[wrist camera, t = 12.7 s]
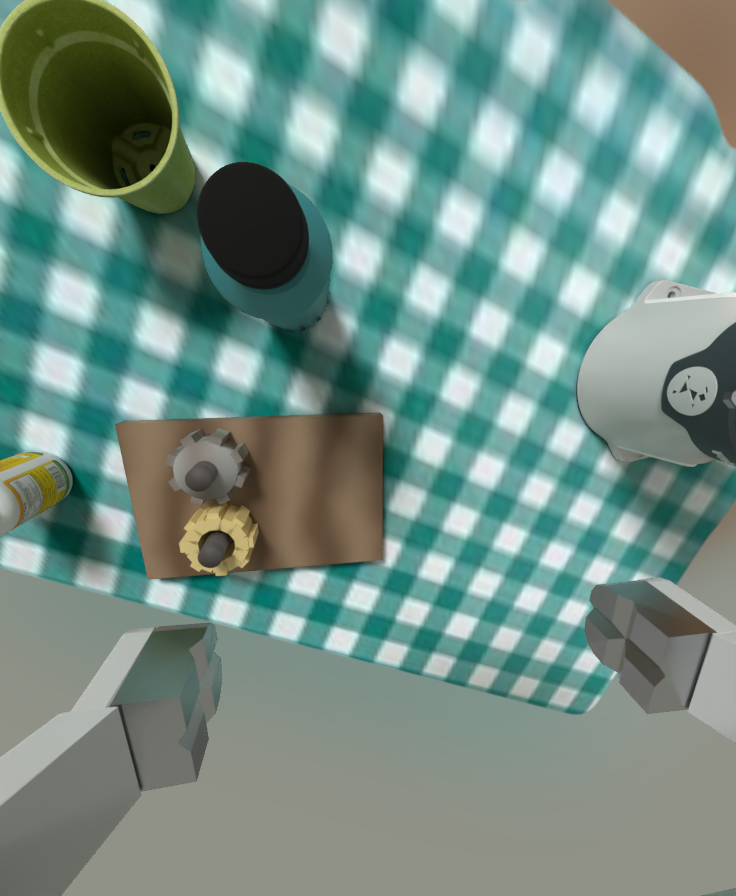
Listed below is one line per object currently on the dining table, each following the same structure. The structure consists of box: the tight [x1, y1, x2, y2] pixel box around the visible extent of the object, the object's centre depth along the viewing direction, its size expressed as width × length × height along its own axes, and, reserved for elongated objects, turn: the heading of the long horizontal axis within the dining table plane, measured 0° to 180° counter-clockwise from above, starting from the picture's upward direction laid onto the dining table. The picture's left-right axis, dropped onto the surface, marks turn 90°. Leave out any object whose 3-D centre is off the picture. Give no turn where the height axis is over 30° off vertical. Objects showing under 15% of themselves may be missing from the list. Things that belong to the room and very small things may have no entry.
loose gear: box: [179, 501, 259, 576], centre depth 34 cm, size 6×6×3 cm
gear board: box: [115, 413, 383, 579], centre depth 34 cm, size 24×16×6 cm, turn 90°
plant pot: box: [0, 0, 196, 214], centre depth 24 cm, size 9×9×9 cm
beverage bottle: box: [197, 162, 333, 332], centre depth 23 cm, size 6×7×20 cm
